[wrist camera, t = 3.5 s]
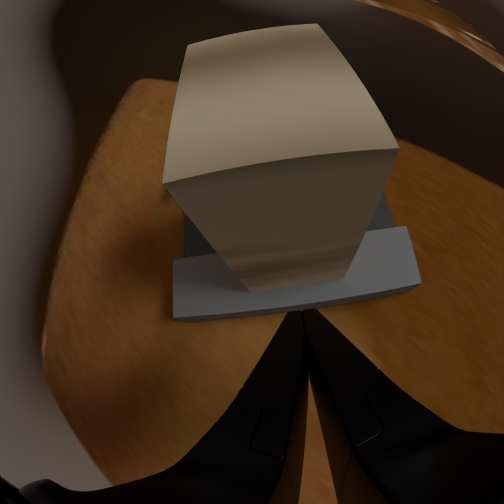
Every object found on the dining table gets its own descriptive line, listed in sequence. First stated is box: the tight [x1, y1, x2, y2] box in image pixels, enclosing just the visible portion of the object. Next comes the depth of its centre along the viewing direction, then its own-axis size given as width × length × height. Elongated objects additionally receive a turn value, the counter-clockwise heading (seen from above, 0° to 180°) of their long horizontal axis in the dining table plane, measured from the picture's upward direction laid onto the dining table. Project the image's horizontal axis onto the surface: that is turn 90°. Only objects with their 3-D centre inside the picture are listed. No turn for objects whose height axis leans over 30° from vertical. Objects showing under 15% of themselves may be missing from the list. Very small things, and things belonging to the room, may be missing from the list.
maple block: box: [162, 24, 399, 292], centre depth 11 cm, size 7×5×10 cm
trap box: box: [173, 192, 421, 322], centre depth 18 cm, size 15×14×2 cm
